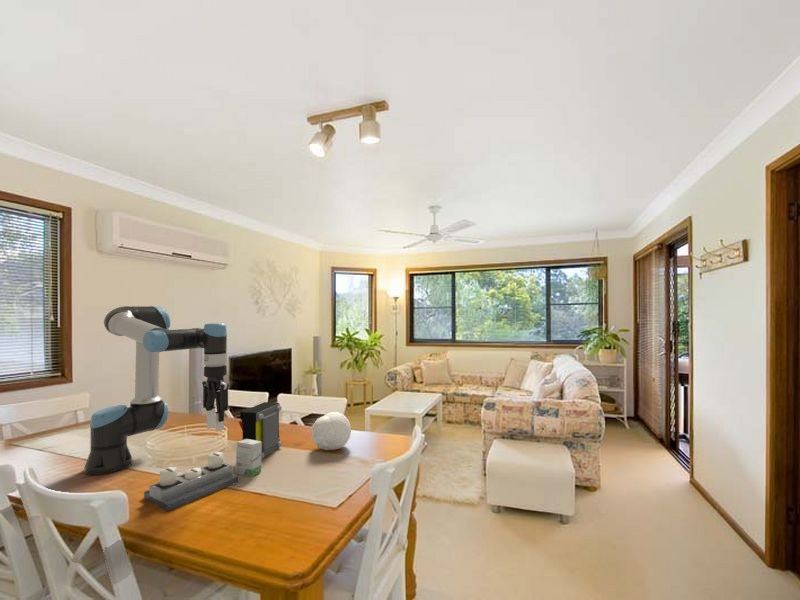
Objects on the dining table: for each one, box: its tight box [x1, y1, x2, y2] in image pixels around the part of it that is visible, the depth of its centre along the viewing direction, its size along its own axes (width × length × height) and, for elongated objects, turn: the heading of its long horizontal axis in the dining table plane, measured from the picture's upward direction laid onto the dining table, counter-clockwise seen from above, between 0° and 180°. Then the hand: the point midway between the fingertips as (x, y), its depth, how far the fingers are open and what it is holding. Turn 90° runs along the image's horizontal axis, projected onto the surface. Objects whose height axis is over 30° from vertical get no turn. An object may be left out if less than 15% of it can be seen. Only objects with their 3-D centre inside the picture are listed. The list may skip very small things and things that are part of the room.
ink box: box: [235, 439, 262, 477], centre depth 145 cm, size 9×5×12 cm, turn 65°
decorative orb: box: [311, 411, 352, 451], centre depth 168 cm, size 20×18×16 cm
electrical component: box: [238, 401, 283, 460], centre depth 164 cm, size 18×10×20 cm, turn 166°
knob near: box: [159, 466, 179, 486], centre depth 125 cm, size 5×5×4 cm
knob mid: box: [184, 467, 201, 480], centre depth 131 cm, size 5×5×4 cm
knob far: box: [207, 451, 224, 468], centre depth 138 cm, size 5×5×4 cm
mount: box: [143, 461, 239, 512], centre depth 131 cm, size 16×24×5 cm, turn 146°
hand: (215, 428), depth 138 cm, fingers open, 5 cm apart
